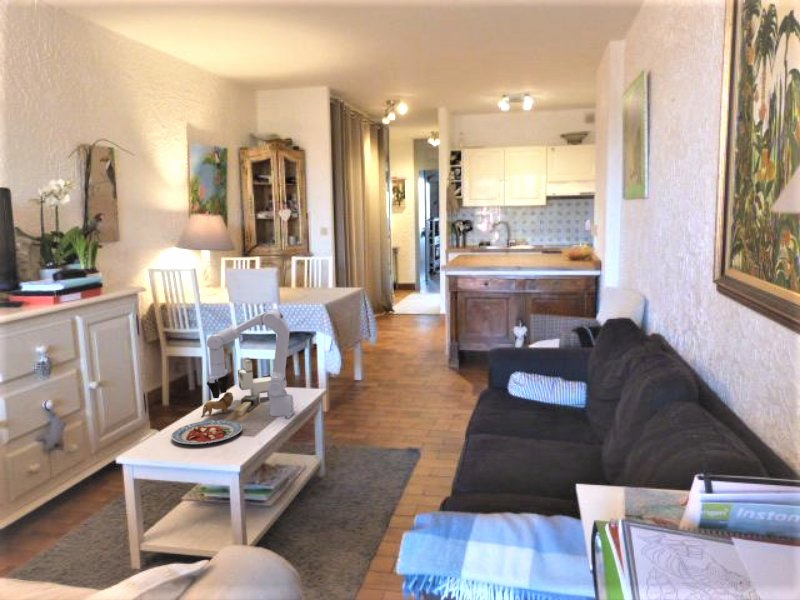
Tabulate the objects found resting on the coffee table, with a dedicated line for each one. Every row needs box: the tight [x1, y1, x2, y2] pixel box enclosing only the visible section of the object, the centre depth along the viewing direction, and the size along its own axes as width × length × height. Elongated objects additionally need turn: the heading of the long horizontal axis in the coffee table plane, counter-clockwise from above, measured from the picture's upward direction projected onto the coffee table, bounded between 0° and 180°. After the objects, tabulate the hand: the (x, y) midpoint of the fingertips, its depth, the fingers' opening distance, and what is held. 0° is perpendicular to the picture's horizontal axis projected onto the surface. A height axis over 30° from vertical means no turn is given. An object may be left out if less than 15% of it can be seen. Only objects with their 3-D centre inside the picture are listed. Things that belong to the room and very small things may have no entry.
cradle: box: [223, 395, 263, 422], centre depth 261 cm, size 9×22×4 cm, turn 174°
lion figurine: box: [200, 391, 234, 419], centre depth 259 cm, size 15×5×9 cm, turn 130°
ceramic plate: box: [170, 419, 243, 445], centre depth 235 cm, size 26×26×3 cm
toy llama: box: [237, 357, 272, 404], centre depth 276 cm, size 8×18×20 cm, turn 115°
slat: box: [234, 402, 252, 416], centre depth 261 cm, size 3×12×2 cm, turn 174°
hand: (219, 395), depth 256 cm, fingers open, 7 cm apart
